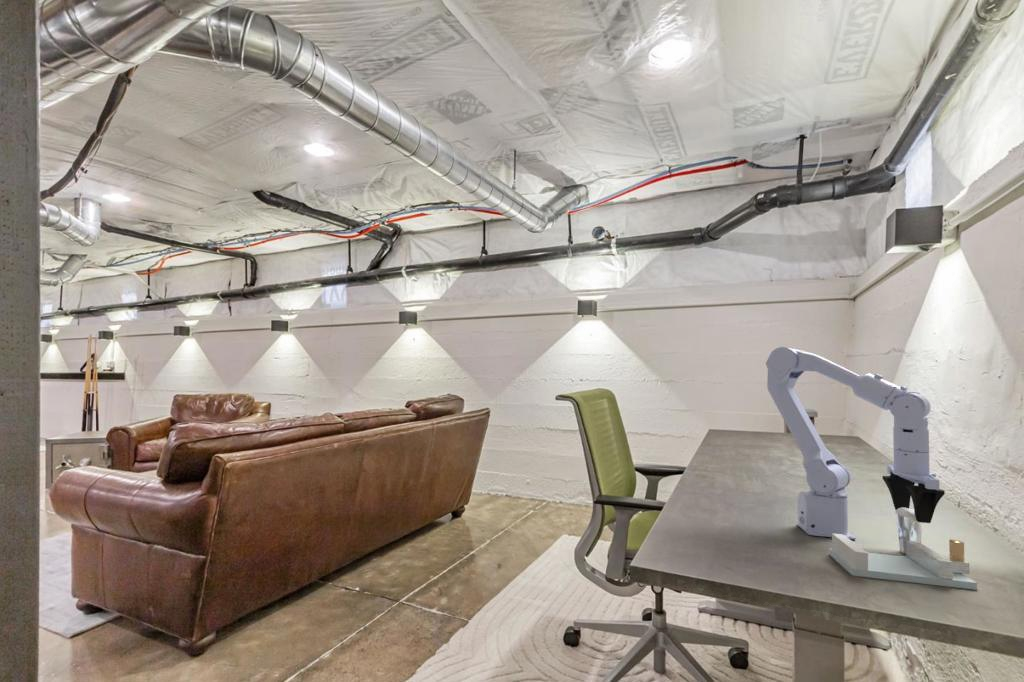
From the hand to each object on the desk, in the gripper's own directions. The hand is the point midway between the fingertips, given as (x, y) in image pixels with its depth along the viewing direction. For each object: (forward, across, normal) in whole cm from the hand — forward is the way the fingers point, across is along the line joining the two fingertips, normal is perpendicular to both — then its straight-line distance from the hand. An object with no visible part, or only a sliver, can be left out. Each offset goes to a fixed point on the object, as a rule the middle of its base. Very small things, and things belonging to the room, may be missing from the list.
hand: (912, 516), depth 98 cm
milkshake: (+8, 0, 0) cm, 8 cm away
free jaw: (+6, -11, +1) cm, 13 cm away
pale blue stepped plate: (+8, -11, +8) cm, 16 cm away
